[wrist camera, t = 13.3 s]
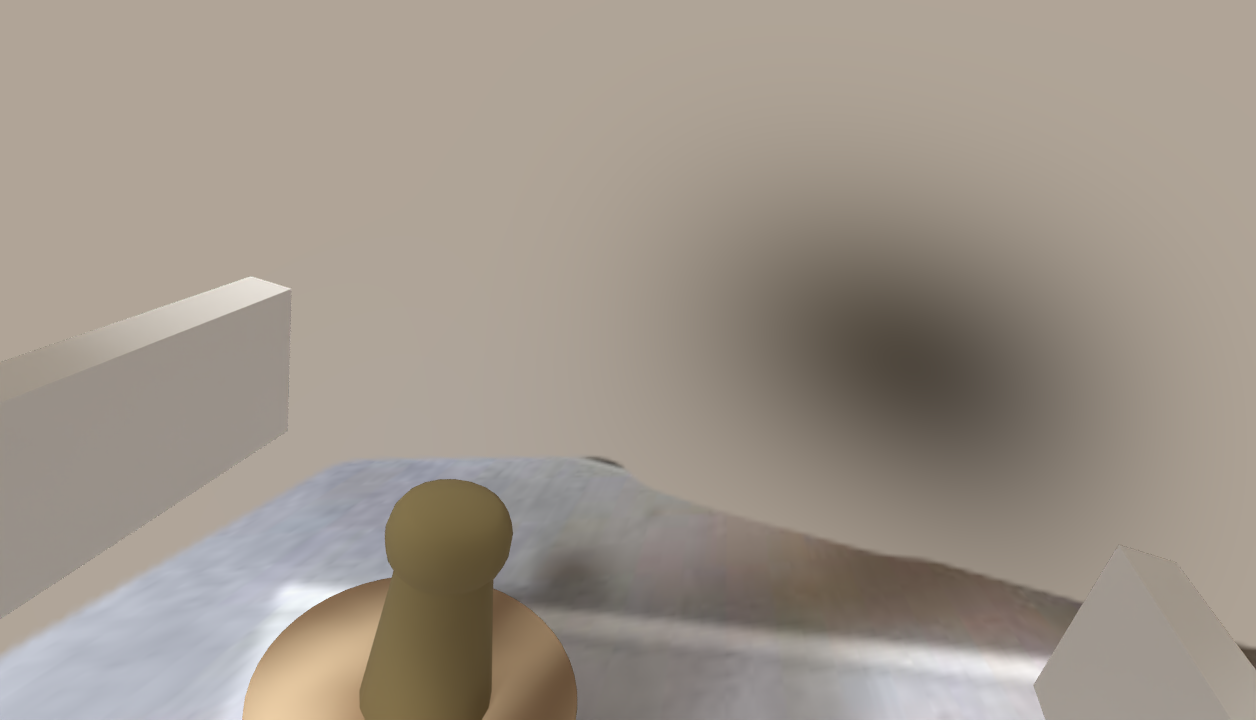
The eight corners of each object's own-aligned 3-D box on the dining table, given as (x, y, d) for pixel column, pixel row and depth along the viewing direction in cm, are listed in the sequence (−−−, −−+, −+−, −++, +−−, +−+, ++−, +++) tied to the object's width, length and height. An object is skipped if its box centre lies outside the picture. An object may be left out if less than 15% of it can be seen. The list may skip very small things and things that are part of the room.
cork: (368, 639, 36) (387, 453, 32) (491, 642, 38) (525, 465, 33) (348, 750, 31) (367, 545, 26) (492, 748, 32) (532, 554, 28)
